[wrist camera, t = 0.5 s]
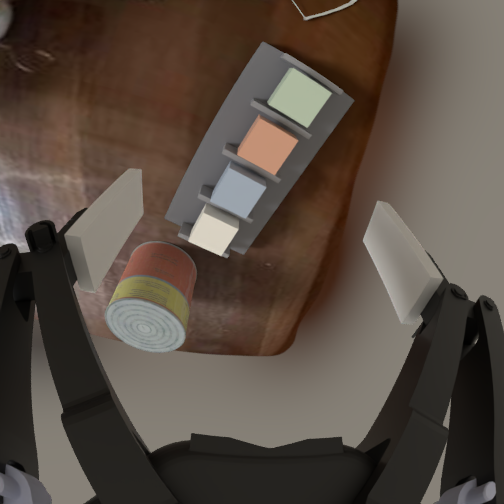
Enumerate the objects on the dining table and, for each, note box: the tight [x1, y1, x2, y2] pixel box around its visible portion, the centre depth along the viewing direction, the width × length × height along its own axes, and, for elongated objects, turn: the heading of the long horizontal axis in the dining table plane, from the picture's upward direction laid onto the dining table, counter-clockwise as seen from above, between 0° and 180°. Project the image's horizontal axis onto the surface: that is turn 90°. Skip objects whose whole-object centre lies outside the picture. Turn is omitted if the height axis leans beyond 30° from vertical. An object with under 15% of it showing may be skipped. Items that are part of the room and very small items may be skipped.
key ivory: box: [188, 203, 239, 256], centre depth 34 cm, size 4×4×2 cm
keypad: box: [164, 42, 355, 258], centre depth 31 cm, size 12×25×5 cm, turn 150°
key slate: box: [210, 161, 267, 219], centre depth 31 cm, size 4×4×2 cm
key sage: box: [267, 68, 332, 128], centre depth 25 cm, size 4×4×2 cm
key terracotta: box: [237, 114, 298, 175], centre depth 28 cm, size 4×4×2 cm
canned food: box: [105, 241, 197, 353], centre depth 39 cm, size 11×11×12 cm
